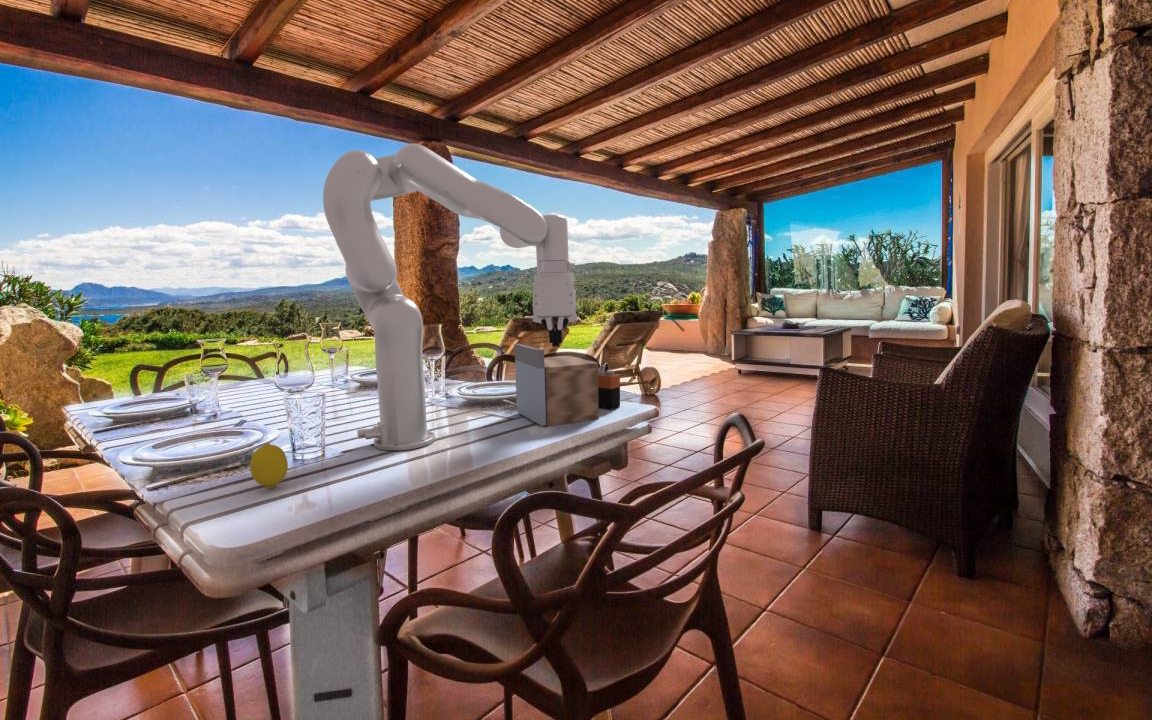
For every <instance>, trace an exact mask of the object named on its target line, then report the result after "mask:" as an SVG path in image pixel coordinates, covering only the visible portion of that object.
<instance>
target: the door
mask: <svg viewBox="0 0 1152 720" xmlns="http://www.w3.org/2000/svg"><path fill="white" fill-rule="evenodd" d="M544 358H545V350H544V349H540V348H536V347H532V346H529V345H525V344H522V343H521V344H520V343H514V366H515V367H514V368H515V372H514V373H515V394H516V395H515V397H516V399H515V400H516V412H517V413H518V414H520V415H522V416H523V417H525V418H527V419H529V420H531V421H533V422H534V423H535V424H537V425H539V426H546V404H545V366H544Z"/></svg>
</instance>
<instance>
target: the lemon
mask: <svg viewBox="0 0 1152 720" xmlns="http://www.w3.org/2000/svg"><path fill="white" fill-rule="evenodd" d="M249 464H250V466H249V468H250V469H249V472H250V474H251V477H252V478H253V480H254V481H255V482H256V484H258V485H260V486H263V487H266V488H268V489H270V490H271V489H274V488H275V487H276V486H277V485H278V484H279V483H281V482H282V481H283V480H284V479H285V477H286V476H287V473H288V467H289V465H288V464H289V463H288V459H287V455H286V453H285V452H284V450H283V449H282V448H281V447H279V446H277V445H275V444H270V442H266V443H264V444H263V445H261V446H260V447H258V448H257V449H256V450H255V451H254V452H253V453H252V456H251V458H250V462H249Z"/></svg>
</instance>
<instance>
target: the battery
mask: <svg viewBox="0 0 1152 720" xmlns="http://www.w3.org/2000/svg"><path fill="white" fill-rule="evenodd" d="M620 406H621V374H620V373H615V370H606V371H604V370H603V369H598V407H599V409H605V410H614V409H618V408H620Z"/></svg>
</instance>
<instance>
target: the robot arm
mask: <svg viewBox="0 0 1152 720" xmlns="http://www.w3.org/2000/svg"><path fill="white" fill-rule="evenodd" d="M415 192H419V193H421V194H423V195H424V196H426V197H428V198H429V199H431V200H433V201H434V202H436V203H438V204H440V205H441V206H443V207H444V208H446V209H447V210H449V211H451V212H452V213H454V214H456V215H460V216H462V217H464V218H469V219H470V218H471V219H477V220H480V221H484V222H486V223H489V224H492V225H493V226H497V227H498V228H499V237H500V239H501V241H502V242H503V243H504V244H506V245H507V246H508V247H511V248H514V249H521V248H522V249H523V248H526V247H536V249H535V250H536V251H535V253H536V270H537V271H536V272H537V273H536V274H537V275H534V279H533V286H532V311H533V315H532V322H534V323H538V324H542V325H543V326H544V327H545V328H546V329H547V330H548V336H549V337H548V339H549V342H548V343H549V344H551V346H552V347H553V348H555V347H556V348H560V345H561V344H563V328H565V326H567V324H568V323H573V322H576V321H578V314H577V301H576V300H577V297H576V287H575V286H576V285H575V281H574V277H573V274H572V273H571V274H570V271H573V270H575V269H576V264H575V263H572V262H570V261H569V259H570V258H569V234H568V233H569V232H568V228H569V227H568V219H567V218H566V216H564V215H562V214H544V215H542V214H541V212H539V211H538V210H537V209H535V208H534V207H532V206H531V205H530V204H527V203H526V202H524V201H523V200H522V199H520V198H518V197H516V196H515V195H513V194H511V193H509V192H507V191H505V190H502V189H500V188H497V187H495V186H493V185H491V184H488V183H487V182H484V181H480V180H479V179H477V178H475V177H473V176H472V175H470V174H469V173H467V172H465V171H464V170H462V169H461V168H459V167H458V166H456V165H454V164H453V163H452V162H449V161H448V160H447V159H446V158H444V157H442V156H441V155H440V154H437V153H436V152H434V151H432V150H431V149H429V148H428V147H426V146H424V145H422V144H419V143H408V144H406V145H404V146H403V147H401V148H399V150H398V151H397V152H396V153H395V154H392V155H391V154H390V155H387V156H382V157H376V158H375V157H374V156H373V155H372V154H370V153H368V152H366V151H365V150H359V149H356V150H355V149H353V150H350V151H348V152H345V153H343V155H341V156H340V157H339V158H338V159H337V160H336V161H335V162H334V164H333V165H332V167H331V168H330V170H329V172H328V173H327V176H326V178H325V180H324V184H323V194H322V204H323V205H322V206H323V211H324V216H325V219H326V221H327V224H328V225H329V228H330V231H331V233H332V235H333V238H334V240H335V242H336V245H337V247H338V250H339V252H340V254H341V255H342V257H343V260H344V262H345V275H346V276H345V277H346V278H347V281H348V284H349V285H350V287H351V290H352V293H353V294H354V295H355V298H356V300H357V301H358V304H359V306H360V307H361V310H362V311H363V314H364V316H365V317H366V320H367V322H368V323H369V326H370V327H371V328H372V330H373V332H374V345H375V346H374V353H375V354H374V355H375V356H374V357H375V371H376V372H375V373H376V381H377V395H378V407H379V409H378V410H379V421H377V425H374V426H372V428H371V427H370V428H360V429H357V430H356V431H357V439H358V440H359V439H365V440H366V441H367V440H372V439H373V446H374V447H375V448H377V449H378V450H381V451H384V450H385V451H392V452H393V451H396V452H397V451H406V450H413V449H414V450H415V449H419V448H423V447H426V446H428V445H431V444H432V443H434V442H435V440H436V435H435V433H434V432H432V431H431V430H428V423H427V408H426V406H427V405H426V390H425V389H426V387H425V373H424V372H425V371H424V362H423V361H424V358H423V357H424V356H423V355H424V354H423V352H424V351H423V343H424V342H423V339H424V338H423V337H424V336H423V335H424V322H423V315H422V313H421V310H420V308H419V307H418V305H417V304H416V303H415V302H414V301H413V300H411V299H410V298H409V297H406V296H405V295H404V293H403V290H402V288H401V286H400V283H399V282H398V280H397V277H398V275H397V274H398V267H397V264H396V262H395V259H394V258H393V256H392V255H391V253H390V250H389V249H388V247H387V244H386V242H385V240H384V238H383V237H382V234H381V232H380V230H379V227H378V224H377V222H376V220H375V218H374V215H373V211H372V205H371V204H372V203H371V202H373V201H378V200H383V199H384V200H385V199H389V198H390V199H391V198H395V197H399V196H404V195H409V194H412V193H415ZM553 318H558V320H557V326H556V327H555V326H554V323H553V322H554V321H553Z"/></svg>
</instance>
